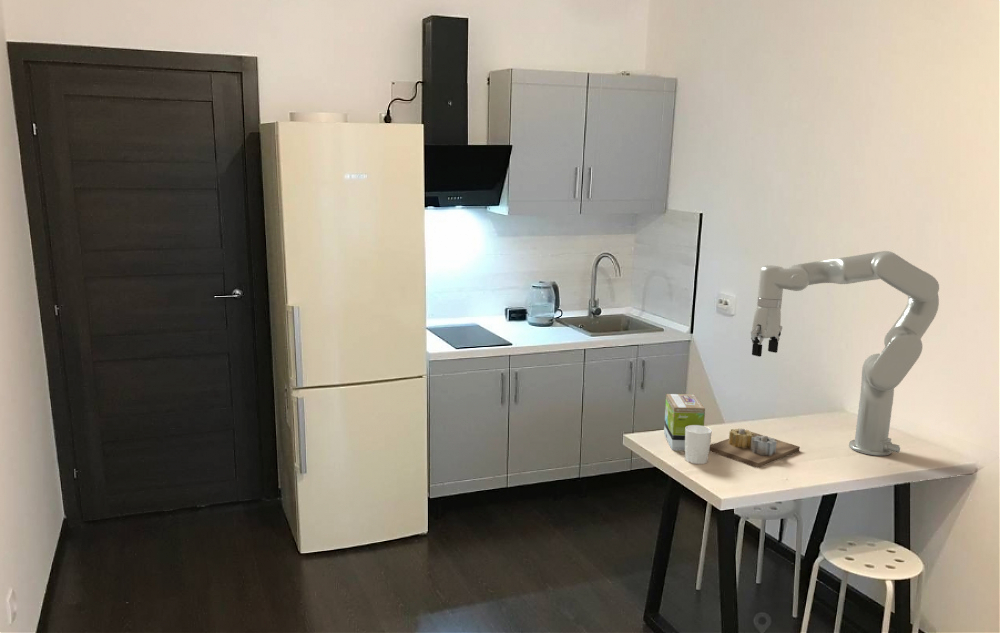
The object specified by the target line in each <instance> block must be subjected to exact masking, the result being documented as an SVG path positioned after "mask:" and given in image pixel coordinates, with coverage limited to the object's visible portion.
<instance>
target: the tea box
mask: <svg viewBox="0 0 1000 633" xmlns="http://www.w3.org/2000/svg"><path fill="white" fill-rule="evenodd" d="M705 415H706V408H705V406H704V405H703V404H702V402H701V401H700V399H699V398H698V397H697V395H696V394H693V393H690V394H689V393H688V394H686V393H684V394H681V393H679V394H678V393H666V394H665V409H664V428H663V434H664V437H665V438H666V440H667V443H668V445H669V447H670V448H671V451H683V452H685V427H686V426H689V425H700V426H705Z"/></svg>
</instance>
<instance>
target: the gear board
mask: <svg viewBox="0 0 1000 633" xmlns="http://www.w3.org/2000/svg"><path fill="white" fill-rule="evenodd" d="M738 429H739V434H745V430H746V429H744V428H738ZM749 431H750V430H749ZM750 432H751V433H754V437H756V436H757V435H758V436H761V441H767V436H768V435H763V434H760V433H756V432H753V431H750ZM774 439H775V441H777V445H776V454H773V455H772V456H768V455H763V456H762V455H760V454H757V453H753V452H752V450H751V448H749V447H748V448H741V447H733V445H732V444H729V438H726V439H724V440H721V441H717V442H715V443H712V444H710V449H709V452H710V453H714V454H717V455H719V456H722V457H725V458H728V459H731V460H734V461H737V462H739V463H742V464H746V465H748V466H750V467H754V468H757V469H759V468H760V467H764V466H766V465H768V464H771V463H774V462H776V461H778V459H779V460H781V459H783V458H785V457H788V456H791V455H794V454H795V453H798V452H800V446H798V445H795V444H792V443H788V442H786V441H782V440H779V439H777V438H774Z"/></svg>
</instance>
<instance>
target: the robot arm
mask: <svg viewBox="0 0 1000 633" xmlns="http://www.w3.org/2000/svg"><path fill="white" fill-rule="evenodd" d="M759 271H760V272H759V281H758V292H757V303H756V304H757V305H756V309H755V312H754V316H753V322H752V330H751V331H750V339H751V343H752V347H751V348H752V349H751V355H752V356H756V357H762V353H763V341H764V340H765V339H768V346H767V347H768V348H767V351H768V352H770V353H775V354H776V353H778V348H779V342H780V337H781V335H782V334H781V332H782V330H783V326H782V325H781V322H782V320H781V318H782V313H781V312H782V311H781V309H782V305H783V304H782V303H783V292H784V290H788V291H793V292H800V291H801V292H802V291H803V290H805V289H806V288H807V287H808V286H811V285H812V286H813V285H818V284H838V285H849V284H856V283H861V282H862V283H863V282H870V281H876V280H877V281H878V280H881V281H883V282H884V283H886V284H887V285H889V286H890V287H892V288H894V289H896V290H897V291H899V292H900V293H902V294H904V295H906V296H907V304H906V305H905V308H904V309H903V311H902V313H901V314H900V316H899V317H898V319H897V320H896V321H895V323H894V324H893V325H892V327H891V328H890V329H889V330H888V332H887V333H886V334H885V336H884V339H883V344H884V348H883V350H881V352H880V353H874V354H871V355H869V356H868V357H867V358H866V359H865V360H864V362H863V364H862V367H861V368H862V369H861V383H860V384H861V386H860V392H859V393H860V395H859V403H858V411H857V419H856V426H855V427H856V428H855V435H854V436H855V437H854V439H852V440H849V442H848V447H849V448H851V449H852V450H853V451H855V452H857V453H860V454H865V455H869V456H870V455H871V456H877V457H880V456H882V457H884V456H889V455H891V454H892V452H894V453H899V454H900V452H901V447H900V445H899V444H895V443H893V442H892V438H891V437H889V435H890V434H889V432H890V426H891V418H892V410H893V404H894V395H895V394H894V393H895V389H896V388H897V387H898V385H900V384H901V382H902V381H903V380H904V378H905V377H907V375H908V374H909V372H910V370H911V369H912V368H913V367H914V365H915V364H916V362H917V361H918V360H919V358H920V356H921V354H922V352H923V342H922V338H923V336H924V334H926V332H927V330H928V329H929V327H930V326H931V324H932V323H933V321H934V319H935V318H936V316H937V313H938V310H939V305H940V304H939V302H940V301H939V300H940V299H939V291H940V284H939V281H938V280H937V279H936V277H935V276H933V275H931V274H930V273H929V272H927V271H924V270H922V269H921V268H919V267H917V266H915V265H914V264H912V263H910V262H909V261H908V260H905V259H904V258H903V257H901V256H899V254H896V253H895V252H892V251H889V250H882V251H881V250H880V251H875V252H869V253H864V254H863V253H862V254H857V255H851V256H845V257H837V258H832V259H826V260H818V261H812V262H804V263H799V264H794V265H791V266H789V267H788V268H784V267H782V266H779V265H763V266H762V267H760V270H759Z"/></svg>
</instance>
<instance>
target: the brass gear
mask: <svg viewBox="0 0 1000 633" xmlns="http://www.w3.org/2000/svg"><path fill="white" fill-rule="evenodd" d="M739 429H740V428H735V429H733V428H732V429H730V431H729V433H728V434H729V435H728V439H729V444H732V445H733V447H741V448H748V447H749V448H751V440H752V437H754V433H755V432H754V433H751V432H752V431H751V432H750V430H749V429H745V434H739Z"/></svg>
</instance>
